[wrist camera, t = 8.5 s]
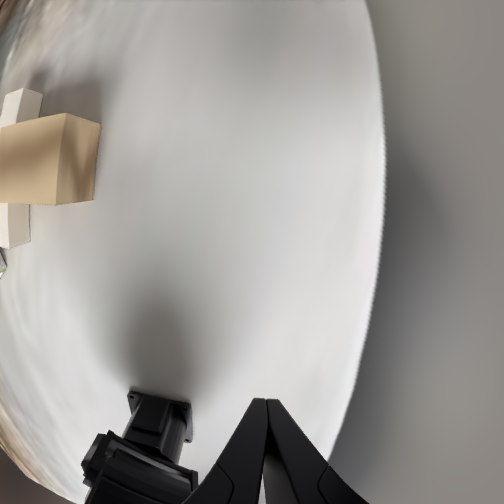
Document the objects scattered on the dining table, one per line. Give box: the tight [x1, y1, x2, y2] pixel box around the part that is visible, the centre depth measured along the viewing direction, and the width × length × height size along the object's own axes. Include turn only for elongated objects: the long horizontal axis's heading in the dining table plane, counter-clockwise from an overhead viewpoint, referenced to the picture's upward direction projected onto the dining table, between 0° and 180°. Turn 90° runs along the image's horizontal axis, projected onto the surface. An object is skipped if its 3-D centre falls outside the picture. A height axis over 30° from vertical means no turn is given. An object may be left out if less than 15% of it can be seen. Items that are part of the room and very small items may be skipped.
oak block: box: [0, 113, 102, 206], centre depth 15 cm, size 6×8×5 cm
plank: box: [0, 88, 43, 249], centre depth 16 cm, size 14×3×3 cm, turn 173°
